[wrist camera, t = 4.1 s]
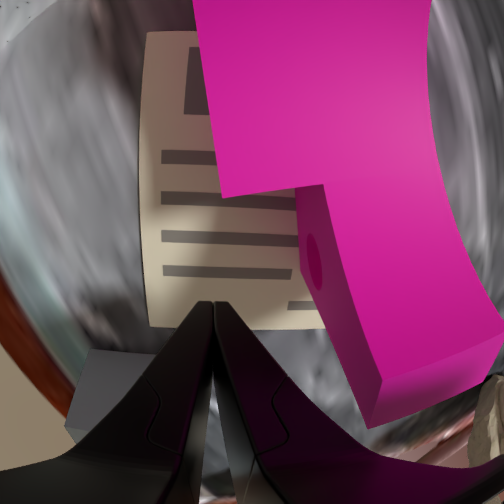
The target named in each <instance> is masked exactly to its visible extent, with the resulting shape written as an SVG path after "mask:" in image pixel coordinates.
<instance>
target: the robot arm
mask: <svg viewBox="0 0 504 504" xmlns="http://www.w3.org/2000/svg"><path fill="white" fill-rule="evenodd" d="M287 376H288V375H287V373H286V372H285V371H284V370H283V369H282V367H281V366H280V365H279V364H278V363H277V361H276V360H275V359H274V358H273V357H272V355H271V354H270V353H269V352H268V351H267V349H266V348H265V347H264V346H263V344H262V343H261V342H260V341H259V339H258V338H257V337H256V336H255V335H254V333H253V332H252V331H251V330H250V328H249V327H248V326H247V325H246V323H245V322H244V321H243V320H242V318H241V317H240V316H239V315H238V313H237V312H236V311H235V309H234V308H233V307H232V306H231V304H230V303H229V302H228V301H214V302H212V301H197V303H196V304H195V305H194V306H193V308H192V309H191V310H190V312H189V313H188V314H187V315H186V317H185V318H184V319H183V321H182V322H181V323H180V325H179V326H178V327H177V328H176V330H175V331H174V332H173V334H172V335H171V336H170V337H169V339H168V340H167V341H166V343H165V344H164V345H163V347H162V348H161V349H160V351H159V352H158V353H157V354H156V356H155V357H154V358H153V360H152V361H151V362H150V364H149V365H148V366H147V368H146V369H145V370H144V372H143V373H142V375H140V376H139V378H138V379H137V381H136V382H135V383H134V385H133V386H132V387H131V388H130V389H129V391H128V392H127V393H126V394H125V396H124V397H123V398H122V399H121V400H120V401H119V402H118V403H117V404H116V405H115V406H114V407H113V409H112V410H111V411H110V412H109V413H108V414H107V415H106V416H105V417H104V418H103V419H102V420H101V421H100V422H99V423H98V424H97V425H96V426H95V427H94V428H93V429H92V430H91V431H90V432H89V433H88V434H86V435H85V436H84V437H83V438H82V439H81V440H80V441H79V442H78V443H77V444H76V445H75V446H74V447H73V448H71V449H70V450H69V451H67V452H66V453H64V454H62V455H60V456H58V457H56V458H53V459H49V460H46V461H42V462H38V463H34V464H30V465H26V466H22V467H17V468H13V469H8V470H3V471H0V504H199V496H200V486H201V476H202V467H203V457H204V448H205V439H206V430H207V422H208V413H209V405H210V396H211V388H212V379H213V378H214V386H215V392H216V398H217V403H218V409H219V415H220V420H221V426H222V431H223V437H224V442H225V447H226V452H227V457H228V462H229V467H230V472H231V477H232V481H233V486H234V491H235V495H236V500H237V504H504V501H503V502H501V501H500V498H499V496H498V494H500V493H501V492H503V491H504V454H501V455H498V456H497V457H495V458H493V459H492V460H490V461H488V462H486V463H485V464H482V465H480V466H476V467H472V468H449V467H442V466H435V465H428V464H422V463H416V462H410V461H405V460H400V459H395V458H390V457H386V456H382V455H379V454H377V453H375V452H373V451H371V450H369V449H367V448H366V447H364V446H363V445H361V444H360V443H359V442H357V441H356V440H355V439H354V438H353V437H351V436H350V435H349V434H348V433H347V432H345V431H344V430H343V429H342V428H341V427H340V426H338V425H337V424H336V423H335V422H334V421H333V420H331V419H330V418H329V417H328V416H327V415H326V414H325V413H323V412H322V411H321V410H320V409H319V408H318V407H317V406H316V405H315V404H314V403H313V402H312V401H311V400H310V399H309V398H308V397H307V396H306V395H305V394H304V393H303V392H302V391H301V390H300V389H299V387H298V386H297V385H296V384H295V383H294V382H293V380H292V379H291V378H290V377H287Z"/></svg>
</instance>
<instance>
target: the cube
mask: <svg viewBox="0 0 504 504" xmlns="http://www.w3.org/2000/svg"><path fill="white" fill-rule="evenodd" d="M155 356H156V355H154V354H140V353H128V352H117V351H107V350H98V349H90V350H89V353H88V356H87V358H86V361H85V364H84V367H83V369H82V372H81V375H80V378H79V381H78V384H77V387H76V390H75V393H74V396H73V399H72V402H71V405H70V408H69V412H68V415H67V418H66V422H65V425H64V426H65V428H66V430H67V431H68V433H69V434H70V436H71V437H72V439H73V440H74V442H75V443H76V444H77V443H78V442H79V441H80V440H81V439H82V438H83V437H84V436H85V435H86V434H88V433H89V432H90V431H91V430H92V429H93V428H94V427H95V426H96V425H97V424H98V423H99V422H100V421H101V420H102V419H103V418H104V417H105V416H106V415H107V414H108V413H109V412H110V411H111V410H112V409H113V407H114V406H115V405H116V404H117V403H118V402H119V401H120V400H121V399H122V398H123V397H124V396H125V394H126V393H127V392H128V391H129V389H130V388H131V387H132V386H133V385H134V383H135V382H136V381H137V379H138V378H139V376H140V375H142V373H143V372H144V370H145V369H146V368H147V366H148V365H149V364H150V362H151V361H152V360H153V358H154V357H155Z"/></svg>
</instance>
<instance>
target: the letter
mask: <svg viewBox="0 0 504 504" xmlns="http://www.w3.org/2000/svg"><path fill="white" fill-rule="evenodd" d="M139 192H140V221H141V240H142V255H143V267H144V279H145V289H146V299H147V308H148V316H149V324H150V327H167V328H177V327H178V326H179V325H180V323H181V322H182V321H183V319H184V318H185V317H186V315H187V314H188V313H189V312H190V310H191V309H192V308H193V306H194V305H195V304H196V303H197V301H212V302H214V301H228V302H229V303H230V304H231V306H232V307H233V308H234V309H235V311H236V312H237V313H238V315H239V316H240V317H241V318H242V320H243V321H244V322H245V323H246V325H247V326H248V327H249V328H250V330H286V329H322V328H325V326H324V323H323V321H322V319H321V316H320V314H319V312H318V310H317V307H316V305H315V303H314V301H313V298H312V296H311V294H310V292H309V289H308V287H307V285H306V283H305V280H304V278H303V276H302V274H301V272H300V258H299V242H298V227H297V213H296V200H295V188H289V189H282V190H274V191H267V192H261V193H254V194H247V195H241V196H234V197H228V198H222V193H221V186H220V180H219V173H218V167H217V160H216V153H215V147H214V140H213V134H212V127H211V120H210V114H209V107H208V101H207V94H206V87H205V81H204V74H203V67H202V61H201V54H200V47H199V41H198V34H197V31H158V32H147V37H146V46H145V56H144V66H143V78H142V92H141V110H140V139H139Z"/></svg>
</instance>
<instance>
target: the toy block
mask: <svg viewBox="0 0 504 504" xmlns="http://www.w3.org/2000/svg"><path fill="white" fill-rule="evenodd" d="M192 1H193V8H194V14H195V21H196V28H197V34H198V41H199V47H200V54H201V61H202V67H203V74H204V81H205V87H206V94H207V101H208V107H209V114H210V120H211V127H212V134H213V140H214V147H215V153H216V160H217V167H218V173H219V180H220V186H221V193H222V198H228V197H234V196H241V195H247V194H254V193H261V192H267V191H274V190H282V189H289V188H295V200H296V213H297V227H298V242H299V258H300V272H301V274H302V276H303V278H304V280H305V283H306V285H307V287H308V289H309V292H310V294H311V296H312V298H313V301H314V303H315V305H316V307H317V310H318V312H319V314H320V316H321V319H322V321H323V323H324V326H325V328H326V330H327V332H328V335H329V337H330V339H331V342H332V344H333V346H334V349H335V351H336V353H337V356H338V358H339V360H340V363H341V365H342V368H343V370H344V372H345V375H346V377H347V380H348V382H349V384H350V387H351V389H352V392H353V394H354V397H355V399H356V401H357V404H358V406H359V409H360V411H361V414H362V416H363V419H364V421H365V424H366V426H367V429H370V428H373V427H377V426H380V425H383V424H386V423H389V422H391V421H394V420H397V419H400V418H403V417H405V416H408V415H411V414H413V413H416V412H418V411H421V410H423V409H426V408H428V407H431V406H433V405H435V404H438V403H440V402H442V401H444V400H447V399H449V398H451V397H453V396H455V395H457V394H460V393H462V392H464V391H466V390H468V389H470V388H472V387H474V386H476V385H478V384H480V383H481V382H483V381H484V379H485V377H486V375H487V374H488V372H489V370H490V368H491V366H492V364H493V362H494V360H495V358H496V357H497V355H498V353H499V351H500V348H501V346H502V344H503V342H504V321H503V319H502V318H501V316H500V315H499V313H498V312H497V310H496V308H495V307H494V305H493V303H492V302H491V300H490V299H489V297H488V295H487V293H486V291H485V289H484V287H483V286H482V284H481V282H480V280H479V278H478V276H477V274H476V272H475V270H474V267H473V265H472V263H471V261H470V259H469V256H468V254H467V252H466V249H465V247H464V245H463V242H462V239H461V236H460V234H459V231H458V229H457V226H456V223H455V220H454V217H453V214H452V211H451V208H450V204H449V201H448V197H447V194H446V191H445V187H444V183H443V179H442V175H441V171H440V167H439V162H438V157H437V153H436V147H435V142H434V136H433V130H432V123H431V116H430V107H429V98H428V83H427V35H428V22H429V13H430V6H431V1H432V0H192Z"/></svg>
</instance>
